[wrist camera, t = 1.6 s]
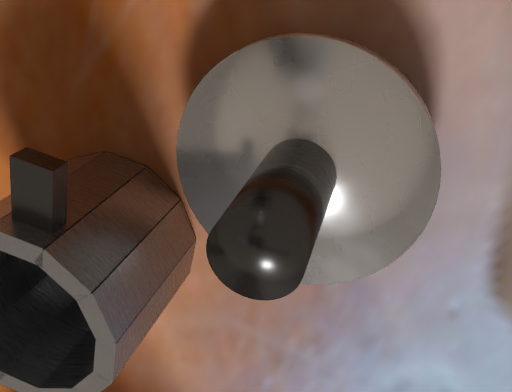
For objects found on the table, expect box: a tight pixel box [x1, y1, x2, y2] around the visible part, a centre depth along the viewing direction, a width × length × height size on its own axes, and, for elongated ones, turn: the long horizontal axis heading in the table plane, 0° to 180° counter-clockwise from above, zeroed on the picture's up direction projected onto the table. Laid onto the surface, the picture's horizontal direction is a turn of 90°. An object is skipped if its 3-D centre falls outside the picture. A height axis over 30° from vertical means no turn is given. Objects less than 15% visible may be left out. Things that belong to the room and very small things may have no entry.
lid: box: [176, 32, 441, 300], centre depth 20 cm, size 12×12×10 cm
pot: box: [0, 147, 196, 392], centre depth 27 cm, size 16×10×9 cm, turn 168°
